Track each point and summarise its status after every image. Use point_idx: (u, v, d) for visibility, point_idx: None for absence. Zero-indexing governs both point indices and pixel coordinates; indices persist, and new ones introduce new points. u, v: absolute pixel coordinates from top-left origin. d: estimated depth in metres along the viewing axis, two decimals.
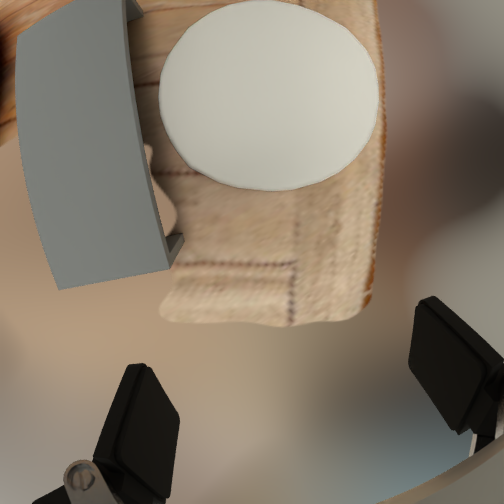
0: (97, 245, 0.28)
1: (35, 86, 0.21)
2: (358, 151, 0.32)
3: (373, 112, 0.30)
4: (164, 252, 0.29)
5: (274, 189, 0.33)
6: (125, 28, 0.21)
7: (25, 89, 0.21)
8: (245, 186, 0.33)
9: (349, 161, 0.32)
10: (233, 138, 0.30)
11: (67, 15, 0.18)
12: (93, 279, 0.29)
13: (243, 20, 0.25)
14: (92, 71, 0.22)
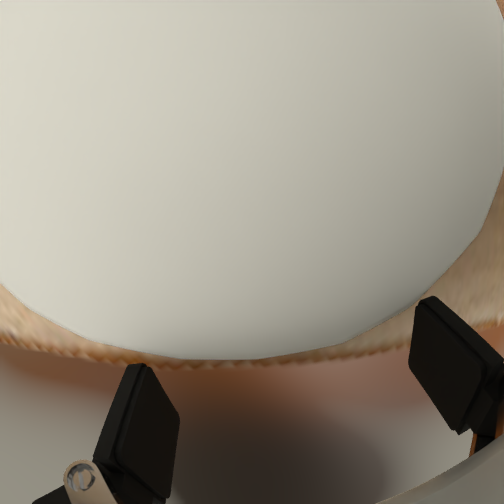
0: None
1: None
2: None
3: (122, 339, 0.08)
4: None
5: None
6: None
7: None
8: None
9: None
10: None
11: None
12: None
13: None
14: None
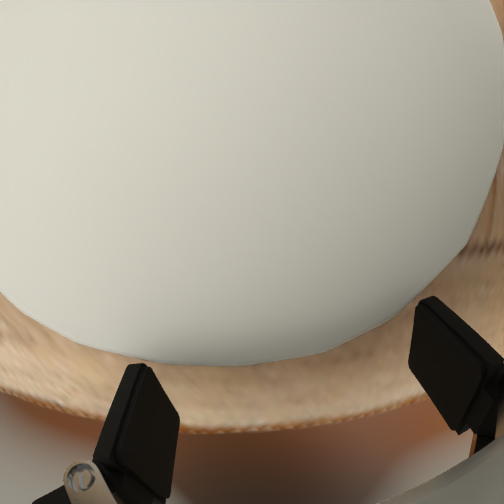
0: None
1: None
2: None
3: (109, 344, 0.08)
4: None
5: None
6: None
7: None
8: None
9: None
10: None
11: None
12: None
13: None
14: None
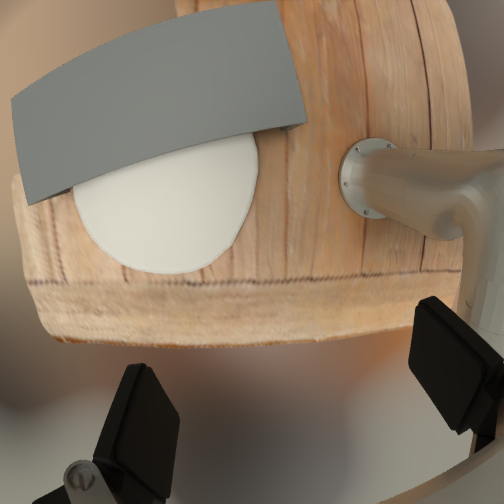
0: (37, 139, 0.25)
1: (186, 40, 0.24)
2: (109, 254, 0.37)
3: (144, 268, 0.37)
4: (37, 201, 0.28)
5: None
6: (232, 135, 0.29)
7: (189, 27, 0.23)
8: None
9: (99, 246, 0.36)
10: None
11: (273, 63, 0.25)
12: (16, 136, 0.25)
13: (222, 142, 0.33)
14: (182, 110, 0.26)
